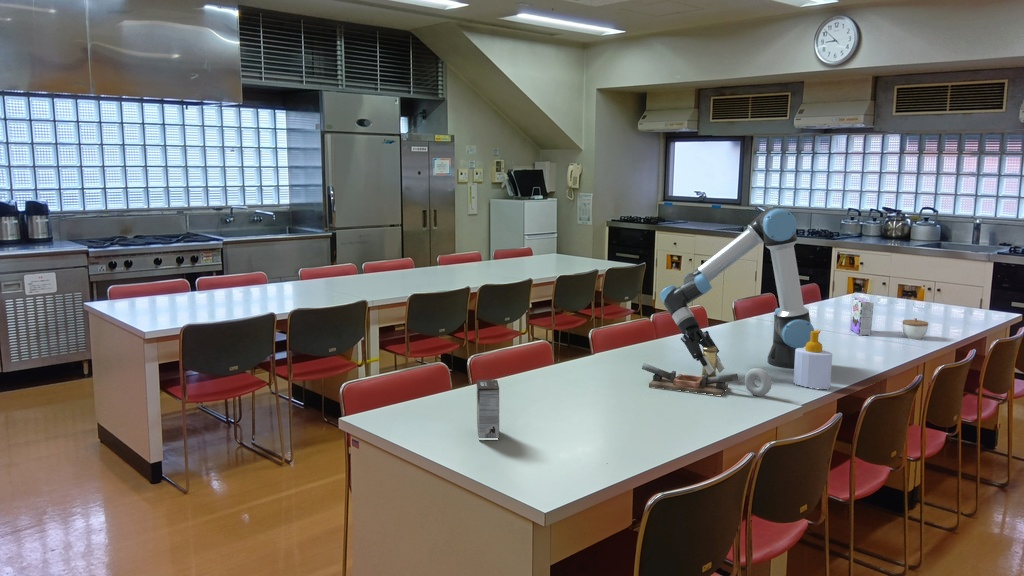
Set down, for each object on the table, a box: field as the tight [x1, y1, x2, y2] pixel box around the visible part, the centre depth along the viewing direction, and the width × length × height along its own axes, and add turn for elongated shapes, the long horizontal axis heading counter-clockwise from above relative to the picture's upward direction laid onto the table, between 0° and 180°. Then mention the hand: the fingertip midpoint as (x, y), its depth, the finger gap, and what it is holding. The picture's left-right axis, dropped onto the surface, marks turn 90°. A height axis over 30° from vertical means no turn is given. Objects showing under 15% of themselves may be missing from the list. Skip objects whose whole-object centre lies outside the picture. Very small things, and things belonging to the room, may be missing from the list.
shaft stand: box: [641, 362, 739, 397], centre depth 272 cm, size 35×12×7 cm, turn 63°
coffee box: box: [476, 379, 500, 439], centre depth 223 cm, size 9×6×16 cm
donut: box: [744, 367, 773, 397], centre depth 262 cm, size 10×4×10 cm, turn 41°
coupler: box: [701, 346, 718, 378], centre depth 284 cm, size 5×5×12 cm
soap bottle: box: [793, 329, 833, 390], centre depth 273 cm, size 13×8×20 cm, turn 47°
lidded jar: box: [901, 317, 929, 340], centre depth 351 cm, size 11×11×9 cm
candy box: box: [849, 297, 875, 337], centre depth 362 cm, size 14×6×16 cm, turn 172°
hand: (716, 371), depth 281 cm, fingers closed on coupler, 5 cm apart
